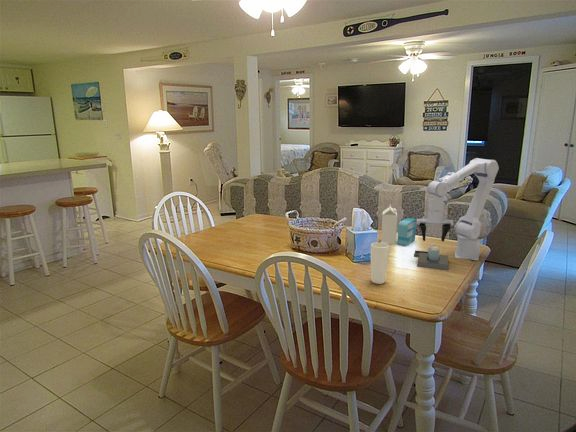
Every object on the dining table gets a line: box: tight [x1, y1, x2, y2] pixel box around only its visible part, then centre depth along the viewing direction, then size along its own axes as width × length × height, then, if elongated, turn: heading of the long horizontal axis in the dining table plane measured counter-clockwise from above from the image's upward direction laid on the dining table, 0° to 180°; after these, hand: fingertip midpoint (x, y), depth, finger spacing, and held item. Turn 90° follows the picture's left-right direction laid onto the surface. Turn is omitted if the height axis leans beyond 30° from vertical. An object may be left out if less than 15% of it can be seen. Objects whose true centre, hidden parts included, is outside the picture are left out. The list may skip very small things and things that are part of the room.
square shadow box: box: [413, 249, 428, 258], centre depth 184 cm, size 6×6×2 cm
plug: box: [427, 244, 440, 261], centre depth 173 cm, size 4×4×8 cm
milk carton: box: [380, 203, 398, 245], centre depth 201 cm, size 7×7×19 cm
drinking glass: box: [370, 241, 390, 285], centre depth 155 cm, size 7×7×15 cm
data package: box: [396, 217, 417, 247], centre depth 200 cm, size 12×4×12 cm, turn 142°
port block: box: [416, 252, 449, 271], centre depth 174 cm, size 12×12×3 cm
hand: (433, 240), depth 174 cm, fingers open, 7 cm apart
